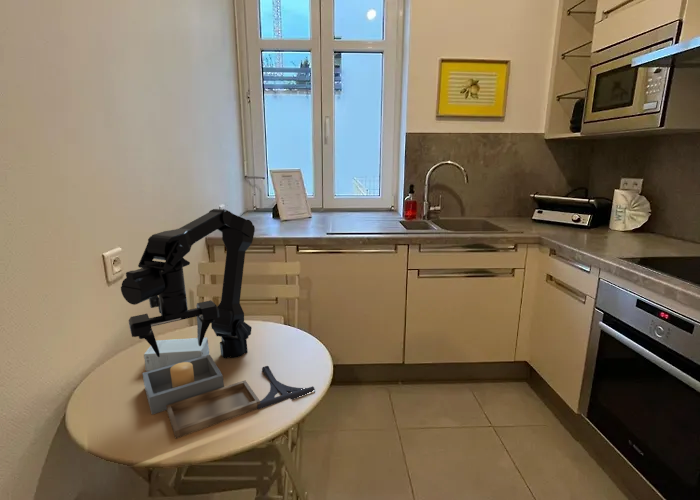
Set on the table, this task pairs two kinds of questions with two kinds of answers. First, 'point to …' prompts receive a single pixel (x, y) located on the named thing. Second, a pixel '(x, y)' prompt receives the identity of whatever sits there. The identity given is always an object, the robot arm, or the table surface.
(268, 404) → the bracket
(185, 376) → the tan cylinder
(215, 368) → the grey storage bin
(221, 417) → the walnut tray
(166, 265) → the robot arm
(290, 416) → the table surface
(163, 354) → the skincare box
